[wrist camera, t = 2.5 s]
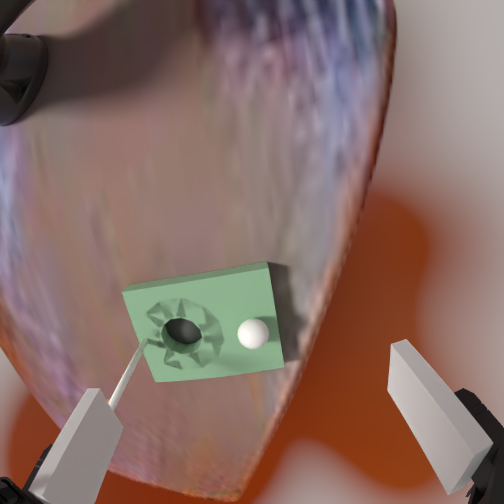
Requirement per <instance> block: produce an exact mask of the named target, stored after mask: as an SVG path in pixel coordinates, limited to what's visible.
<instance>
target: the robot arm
mask: <svg viewBox="0 0 504 504" xmlns="http://www.w3.org/2000/svg"><path fill="white" fill-rule="evenodd" d="M34 1H36V0H0V126H5V125H8V124H10V123H12V122H14V121H15V120H16V119H18V118H19V117H20V116H21V115H22V114H23V113H24V112H25V111H26V109H27V108H28V107H29V106H30V104H31V103H32V101H33V100H34V98H35V96H36V95H37V93H38V91H39V89H40V86H41V84H42V82H43V79H44V76H45V73H46V68H47V62H48V52H47V48H46V45H45V43H44V42H43V41H42V40H41V39H39V38H37V37H35V36H34V35H31V34H4V33H5V32H6V30H7V29H8V28H9V27H10V26H11V25H12V24H13V23H14V22H15V21H16V19H17V18H18V17H19V16H20V15H21V14H22V13H23V12H24V11H25V10H26V9H27V8H28V7H29V6H30V5H31V4H32V3H33V2H34ZM388 392H389V394H390V395H391V397H392V398H393V400H394V402H395V403H396V405H397V407H398V408H399V410H400V411H401V413H402V415H403V417H404V418H405V420H406V422H407V423H408V425H409V427H410V429H411V430H412V432H413V433H414V435H415V437H416V439H417V441H418V442H419V444H420V446H421V447H422V449H423V451H424V453H425V454H426V456H427V458H428V459H429V462H430V463H431V465H432V467H433V469H434V470H435V472H436V474H437V476H438V478H439V479H440V481H441V483H442V485H443V487H444V489H445V491H446V493H447V494H448V496H449V495H450V494H452V493H454V492H456V491H458V490H459V489H461V488H463V487H465V486H466V485H467V483H468V482H469V481H470V479H471V478H472V480H473V482H474V485H473V486H472V488H471V489H470V490H469V491H468V493H467V495H466V497H468V496H469V495H470V494H471V495H470V499H469V502H468V504H504V428H503V426H502V425H501V424H500V423H499V422H498V420H497V419H496V418H495V417H494V416H493V415H492V413H491V412H490V411H489V410H487V408H486V407H485V405H484V404H482V403H481V401H480V400H479V399H478V397H477V396H476V395H475V394H474V393H472V392H470V391H468V390H466V389H464V388H463V389H461V390H459V391H457V392H455V393H453V392H452V391H451V390H450V388H449V387H448V386H447V385H446V384H445V382H444V381H443V380H442V379H441V378H440V377H439V375H438V374H437V373H436V372H435V371H434V370H433V369H432V367H431V366H430V365H429V364H428V363H427V362H426V361H425V359H424V358H423V357H422V356H421V355H420V354H419V353H418V352H417V351H416V349H414V347H413V346H412V345H411V344H410V343H409V342H408V341H407V340H406V339H405V340H402V341H399V342H396V343H393V344H391V355H390V369H389V380H388ZM122 431H123V427H122V425H121V423H120V422H119V420H118V419H117V417H116V415H115V414H114V412H113V410H112V409H111V407H110V405H109V404H108V402H107V400H106V398H105V397H104V395H103V393H102V391H101V389H91V388H88V389H87V390H86V392H85V394H84V395H83V397H82V398H81V400H80V401H79V403H78V405H77V406H76V408H75V409H74V411H73V413H72V414H71V416H70V418H69V419H68V421H67V423H66V424H65V426H64V428H63V429H62V431H61V433H60V434H59V436H58V438H57V439H56V441H55V443H54V444H51V445H50V446H49V447H47V448H46V449H45V450H44V451H43V453H42V455H41V457H40V458H39V460H38V462H37V463H36V467H34V469H33V471H32V472H31V474H30V476H29V478H28V480H27V482H26V483H25V485H24V487H23V488H22V490H21V489H20V488H19V487H17V485H15V484H14V482H12V481H11V480H10V479H9V478H8V477H0V504H94V503H95V500H96V498H97V495H98V492H99V489H100V487H101V484H102V481H103V479H104V476H105V474H106V471H107V468H108V466H109V463H110V461H111V458H112V456H113V453H114V451H115V448H116V446H117V443H118V441H119V438H120V436H121V433H122Z"/></svg>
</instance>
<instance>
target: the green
mask: <svg viewBox="0 0 504 504" xmlns="http://www.w3.org/2000/svg"><path fill="white" fill-rule="evenodd" d="M122 294H123V297H124V300H125V303H126V306H127V309H128V312H129V315H130V318H131V321H132V324H133V326H134V329H135V332H136V335H137V337H138V340H139V343H140V345H139V347H138V349H137V351H136V352H135V354H134V356H133V358H132V360H131V361H130V363H129V365H128V367H127V369H126V371H125V373H124V374H123V376H122V378H121V380H120V382H119V384H118V386H117V388H116V389H115V391H114V393H113V395H112V397H111V399H106V400H107V402H108V404H109V405H110V407H111V409H112V410H113V412H114V410H115V408H116V406H117V403H118V401H119V399H120V397H121V395H122V393H123V391H124V389H125V387H126V385H127V383H128V381H129V379H130V377H131V375H132V373H133V371H134V369H135V367H136V365H137V363H138V361H139V359H140V357H141V355H142V353H144V355H145V358H146V360H147V363H148V365H149V368H150V370H151V372H152V375H153V377H154V379H155V382H169V381H183V380H194V379H205V378H214V377H223V376H231V375H238V374H245V373H252V372H259V371H265V370H271V369H277V368H282V367H284V361H283V355H282V348H281V342H280V336H279V329H278V323H277V317H276V310H275V304H274V298H273V292H272V286H271V280H270V274H269V268H268V264H267V262H261V263H256V264H250V265H244V266H239V267H233V268H227V269H221V270H216V271H210V272H204V273H198V274H192V275H186V276H180V277H174V278H168V279H162V280H156V281H150V282H144V283H138V284H132V285H128V286H127V287H126V288H125V289H124V290H123V292H122ZM252 318H254V319H259V320H261V321H263V322H264V323H265V324H266V326H267V327H268V330H269V337H268V340H267V342H266V343H265V345H263V346H262V347H260V348H258V349H249V348H246V347H245V346H243V345H242V344H241V343H240V341H239V339H238V329H239V327H240V325H241V324H242V323H243V322H244V321H246V320H248V319H252ZM165 324H166V326H165ZM166 328H167V329H166ZM167 331H168V332H167ZM168 333H169V334H168ZM201 336H202V338H201ZM200 338H201V339H200ZM175 340H176V341H175ZM196 341H197V342H196ZM194 342H195V343H194ZM183 343H184V344H183Z"/></svg>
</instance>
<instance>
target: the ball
mask: <svg viewBox="0 0 504 504" xmlns="http://www.w3.org/2000/svg"><path fill="white" fill-rule="evenodd" d="M268 337H269V330H268V327H267V326H266V324H265V323H264V322H263V321H261V320H259V319H254V318H252V319H248V320H246V321H244V322H243V323H242V324H241V325H240V327H239V329H238V339H239V341H240V343H241V344H242V345H243V346H245V347H246V348H249V349H258V348H260V347H262V346H263V345H265V343H266V342H267V340H268Z"/></svg>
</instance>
